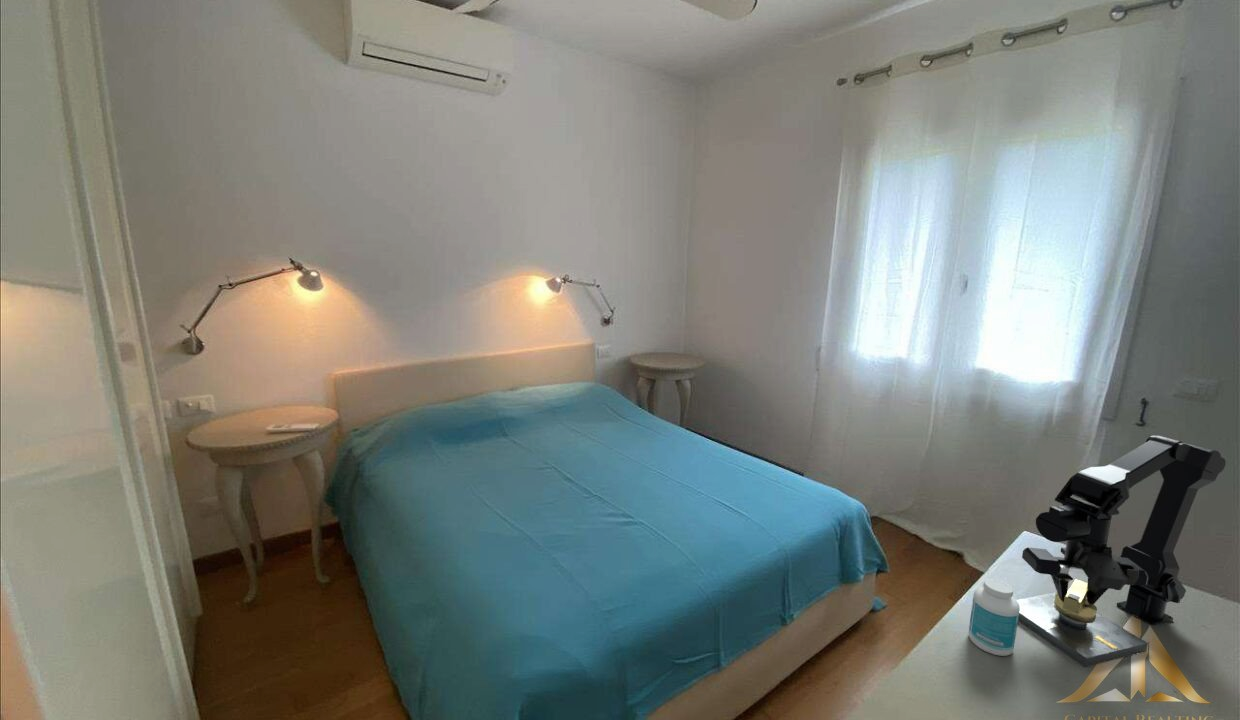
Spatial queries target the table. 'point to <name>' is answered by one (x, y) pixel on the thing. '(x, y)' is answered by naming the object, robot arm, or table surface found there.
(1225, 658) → the table surface
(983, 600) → the pill bottle
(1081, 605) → the brass lock knob
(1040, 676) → the table surface
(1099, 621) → the lock base
